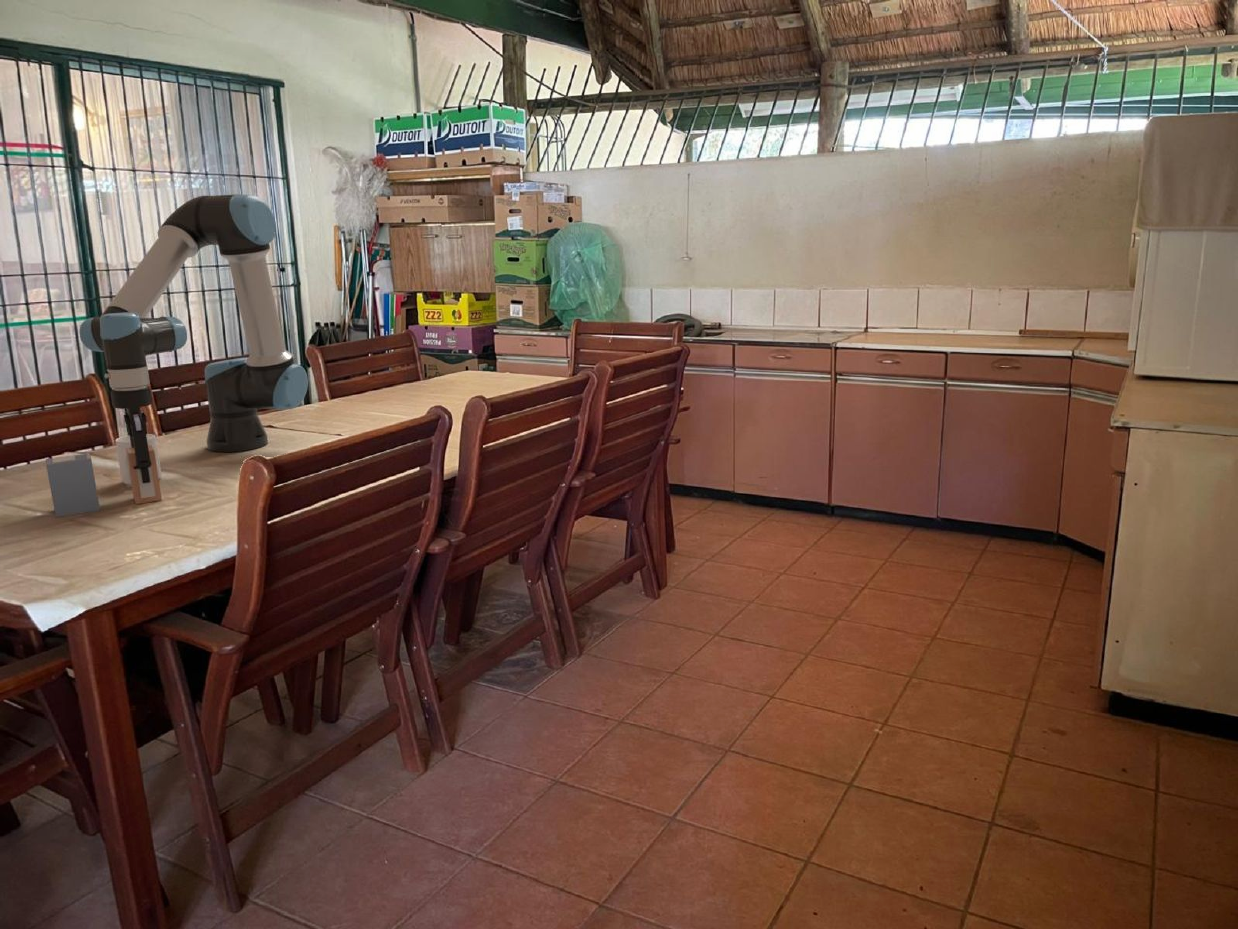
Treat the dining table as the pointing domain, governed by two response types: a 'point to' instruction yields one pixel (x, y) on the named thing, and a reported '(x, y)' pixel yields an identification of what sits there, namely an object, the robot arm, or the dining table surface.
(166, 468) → the dining table surface
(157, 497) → the stub
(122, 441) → the mug
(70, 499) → the toy oven block
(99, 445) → the dining table surface
